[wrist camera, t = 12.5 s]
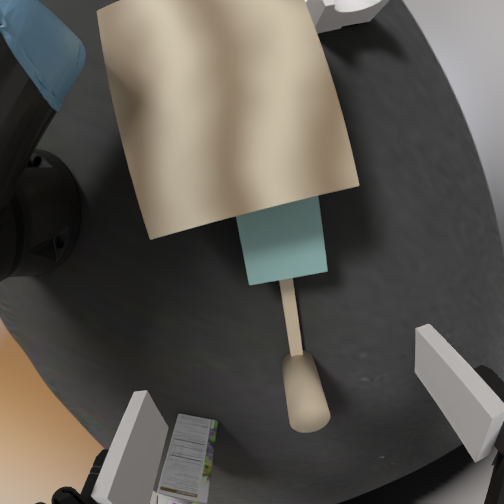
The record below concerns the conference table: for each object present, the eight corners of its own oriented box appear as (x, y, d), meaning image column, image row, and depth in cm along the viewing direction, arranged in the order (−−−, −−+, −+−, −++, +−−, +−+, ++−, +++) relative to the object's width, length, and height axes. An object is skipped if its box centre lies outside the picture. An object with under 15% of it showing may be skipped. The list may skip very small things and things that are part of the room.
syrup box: (212, 443, 41) (204, 522, 27) (174, 436, 41) (155, 513, 27) (218, 419, 40) (209, 504, 26) (176, 411, 40) (155, 493, 26)
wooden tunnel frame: (185, 212, 32) (150, 239, 21) (144, 55, 28) (96, 10, 16) (320, 177, 32) (359, 185, 20) (274, 19, 27) (285, -43, 15)
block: (271, 380, 38) (277, 437, 28) (236, 198, 32) (231, 213, 22) (326, 370, 38) (345, 424, 28) (305, 187, 32) (328, 197, 22)
